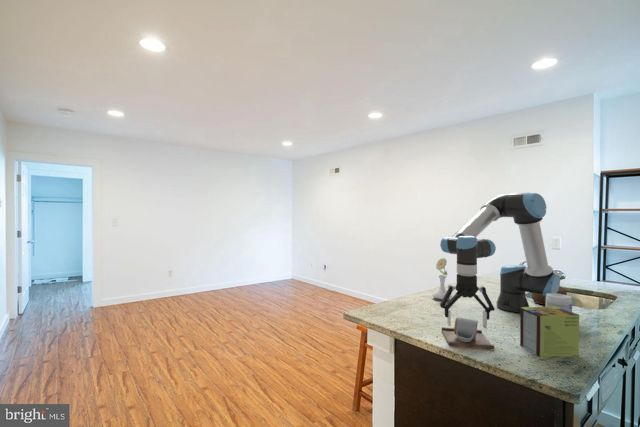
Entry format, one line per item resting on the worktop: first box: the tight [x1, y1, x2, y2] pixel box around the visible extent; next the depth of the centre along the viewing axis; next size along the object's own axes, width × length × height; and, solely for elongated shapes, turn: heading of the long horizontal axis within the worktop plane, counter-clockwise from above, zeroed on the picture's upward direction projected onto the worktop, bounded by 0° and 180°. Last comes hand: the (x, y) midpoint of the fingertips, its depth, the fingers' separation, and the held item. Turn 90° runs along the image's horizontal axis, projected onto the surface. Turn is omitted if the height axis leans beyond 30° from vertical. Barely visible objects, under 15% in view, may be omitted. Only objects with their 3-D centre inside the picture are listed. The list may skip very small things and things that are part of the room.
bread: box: [531, 286, 568, 306], centre depth 190 cm, size 16×36×8 cm, turn 134°
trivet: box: [441, 326, 495, 350], centre depth 128 cm, size 16×16×2 cm
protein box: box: [519, 306, 580, 358], centre depth 119 cm, size 10×15×16 cm
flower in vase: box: [432, 257, 453, 301], centre depth 188 cm, size 13×11×25 cm
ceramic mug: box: [453, 317, 479, 342], centre depth 125 cm, size 11×8×8 cm
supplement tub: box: [545, 293, 573, 312], centre depth 143 cm, size 10×10×15 cm
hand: (466, 326), depth 128 cm, fingers open, 13 cm apart
